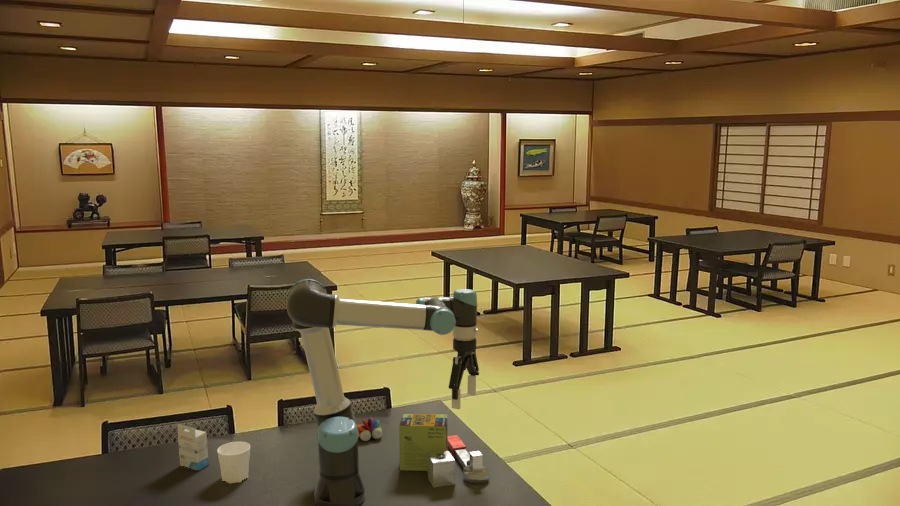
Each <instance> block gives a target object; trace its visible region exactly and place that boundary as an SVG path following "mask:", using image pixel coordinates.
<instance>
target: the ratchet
mask: <svg viewBox="0 0 900 506" xmlns="http://www.w3.org/2000/svg"><path fill="white" fill-rule="evenodd" d="M448 451H449V452H450V454H451V455H452V457H455V459H456V461H457V462H458V463H459V464H460V466H461V467H462V469H463V471H462V472H463V476H462V477H463V478H462V479H463V481H464V482H465V483H468V484H471V485H482V484H486V483H487V482H488V481H489V479H490V478H489V471H490V470H489V468H488V467H487V466H486V465H483V454H482V452H481V451H480V450H476V451H469V452H468V451H467V446H466V444H464V442H463V440H462V439H461V438H460V437H459V435H458V434H455V435H448Z"/></svg>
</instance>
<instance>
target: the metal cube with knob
mask: <svg viewBox="0 0 900 506" xmlns="http://www.w3.org/2000/svg"><path fill="white" fill-rule="evenodd" d="M455 459H456V458H454V456H453V455H452V453H451V452H450V450H448V451H443V452H436V453H428V454H427V462H428V471H427V478H428V481H429V482H430V484H431V486H432V488H439V487H440V488H441V487H447V486H453V485H454V486H455V485H456V460H455Z"/></svg>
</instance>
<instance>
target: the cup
mask: <svg viewBox="0 0 900 506" xmlns="http://www.w3.org/2000/svg"><path fill="white" fill-rule="evenodd" d="M216 452H217V456H218V462H219V468H220V475H221V481H226V482H225V483H228V484H229V485H231V484H234V483H235V484H236V483H242V480H243V481H245V480H247V479H249V474H248V473H249V467H250V466H249V465H250V456H251V444H250V443H249V442H246V441H232V442H227V443H224V444H222V445H220V446H219V447H218V448H217V449H216ZM246 478H247V479H246ZM244 479H245V480H244Z"/></svg>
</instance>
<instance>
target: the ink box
mask: <svg viewBox="0 0 900 506" xmlns="http://www.w3.org/2000/svg"><path fill="white" fill-rule="evenodd" d="M207 435H208V434H207V431H203V430H199V429H196V427H191V426H187V425H184V424H180V423H178V424H177V439H178V440H177V442H178V454H179V466H180V465H181V466H180V467H182V466H185V467H188V468H187V469H189V468H191V469H190V470H193V469H194V470H193V471H196V470H197V471H198V470H199V471H201V470H202V469H204V468H206V467H208V466H209V454H208V453H209V452H208V451H209V449H208V436H207ZM185 467H184V468H185ZM197 471H196V472H197Z"/></svg>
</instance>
